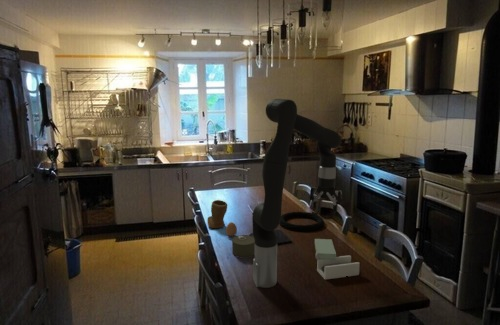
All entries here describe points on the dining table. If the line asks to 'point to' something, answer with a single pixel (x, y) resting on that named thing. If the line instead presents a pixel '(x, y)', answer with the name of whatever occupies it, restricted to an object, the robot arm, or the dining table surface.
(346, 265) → the curved white channel
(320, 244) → the cover
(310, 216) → the cable lock
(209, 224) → the brown boot
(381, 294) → the dining table surface
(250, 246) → the can
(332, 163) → the robot arm
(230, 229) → the egg
